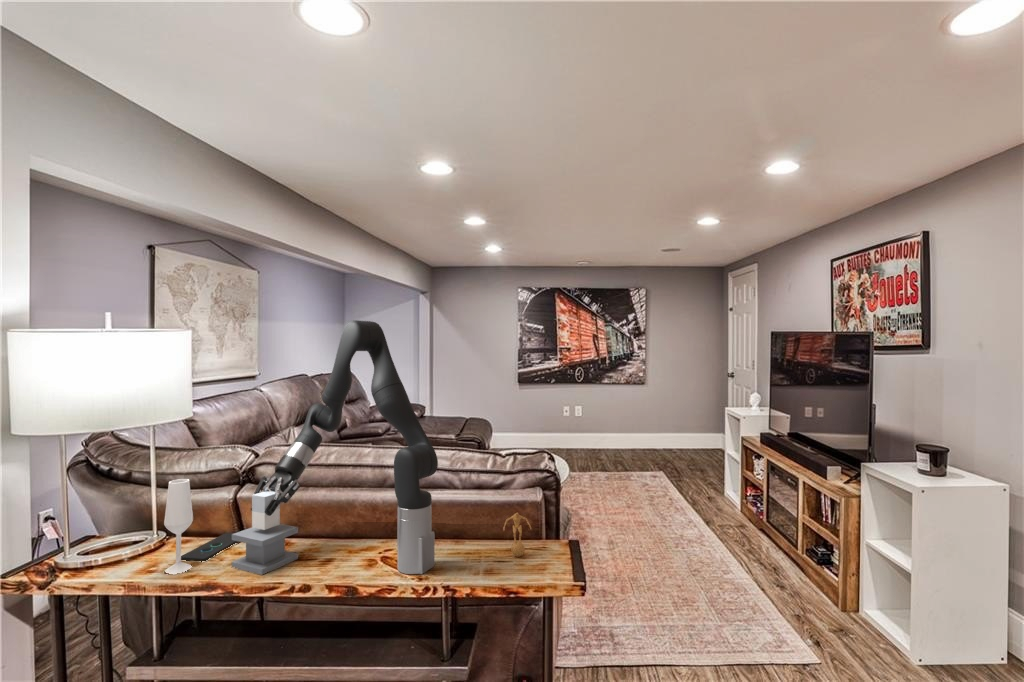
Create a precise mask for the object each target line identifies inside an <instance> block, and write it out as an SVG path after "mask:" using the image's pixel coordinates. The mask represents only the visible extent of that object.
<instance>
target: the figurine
mask: <svg viewBox="0 0 1024 682" xmlns="http://www.w3.org/2000/svg"><path fill="white" fill-rule="evenodd" d="M521 519H522V520H525V521H526V523H527V524H528V525H527V526H529V529H530V531H531V530H532V526H531V524H530V522H529V520H528V518H527V517H525V516H523V515H520V514H519V512H516V513H514V514H513V515H511V516H509V517H508V518H506V519H505V522H504V524H503V527H502V531H503V532H504V531H505V529H506V525H507V523H508V521H510V520H513V522H514V524H513V525H512V532H513V538H514V539H513V541H514V542H513V544H512V545H511V548H510V551H511V554H512V555H513V556H514V557H517V558H518V557H519V558H520V557H522V556H523V555H524V554H525V551H526V547H525V544H523V543H522V535H523V534H522V533H523V530H522V524H520V523H521ZM517 531H518V533H519V534H518V541H517V534H516V533H517Z"/></svg>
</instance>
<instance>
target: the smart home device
mask: <svg viewBox="0 0 1024 682" xmlns="http://www.w3.org/2000/svg"><path fill="white" fill-rule="evenodd" d="M234 533H235V532H225V533H223V534H220V535H219V536H216V537H215V538H213V539H211V540H210V541H207V542H205V543H204V544H201V545H199V546H197V547H196V548H194V549H192V550H189V551H188V552H185V553H184V554H181V560H186V561H201V562H200V563H202V561H206V560H208V559H209V558H211V557H213V556H214V555H216V554H217V553H219V552H220V551H222V550H224V549H226V548H228V547H230V546H231V545H233V544H235V543H238V542H239V541H234V540H232V534H234ZM238 544H239V543H238ZM213 558H214V557H213ZM208 561H209V560H208ZM206 562H207V561H206Z"/></svg>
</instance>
